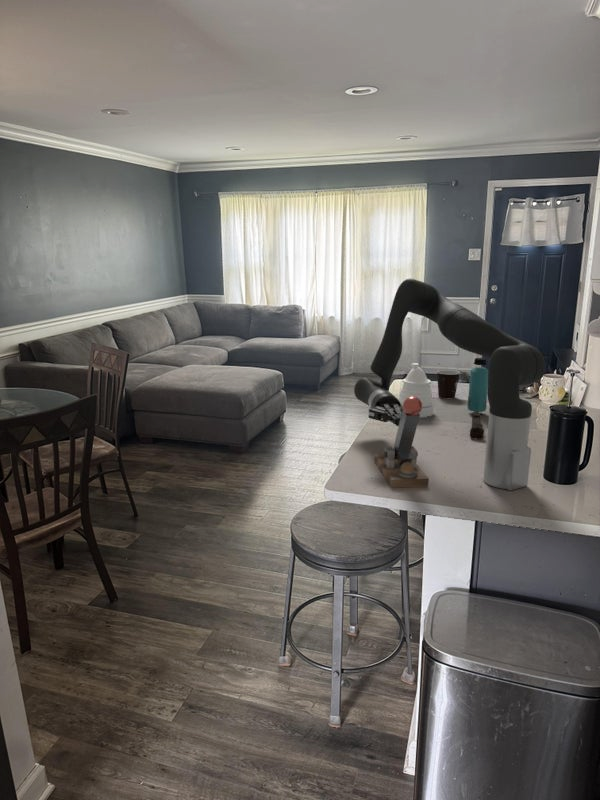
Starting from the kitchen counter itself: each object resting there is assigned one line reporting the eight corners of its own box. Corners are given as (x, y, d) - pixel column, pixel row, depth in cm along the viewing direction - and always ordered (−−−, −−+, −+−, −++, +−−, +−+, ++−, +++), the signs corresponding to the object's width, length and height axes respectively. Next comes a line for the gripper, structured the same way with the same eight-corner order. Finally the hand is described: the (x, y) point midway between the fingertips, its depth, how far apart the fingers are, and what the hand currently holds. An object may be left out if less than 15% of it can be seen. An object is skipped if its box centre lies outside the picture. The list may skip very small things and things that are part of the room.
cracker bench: (374, 461, 145) (375, 438, 144) (407, 460, 146) (408, 437, 144) (390, 487, 128) (392, 461, 126) (428, 486, 129) (429, 460, 127)
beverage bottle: (489, 415, 191) (495, 359, 186) (474, 417, 188) (479, 360, 184) (477, 410, 197) (482, 356, 192) (462, 412, 194) (466, 357, 190)
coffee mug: (445, 393, 223) (447, 369, 221) (462, 397, 216) (464, 373, 214) (425, 397, 217) (427, 372, 215) (442, 401, 210) (444, 376, 208)
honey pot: (424, 419, 185) (427, 367, 181) (390, 413, 192) (392, 363, 188) (438, 411, 196) (441, 362, 191) (405, 406, 203) (407, 358, 198)
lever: (389, 451, 138) (402, 392, 125) (406, 450, 138) (421, 392, 125) (394, 470, 133) (409, 412, 120) (412, 470, 134) (428, 411, 120)
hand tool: (483, 440, 164) (484, 426, 163) (469, 439, 165) (470, 424, 164) (484, 424, 181) (485, 410, 180) (471, 423, 182) (472, 409, 181)
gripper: (361, 392, 150) (374, 408, 134) (407, 391, 152) (427, 407, 135) (360, 418, 152) (373, 437, 135) (406, 417, 153) (425, 436, 137)
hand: (400, 422), depth 135 cm, fingers closed
